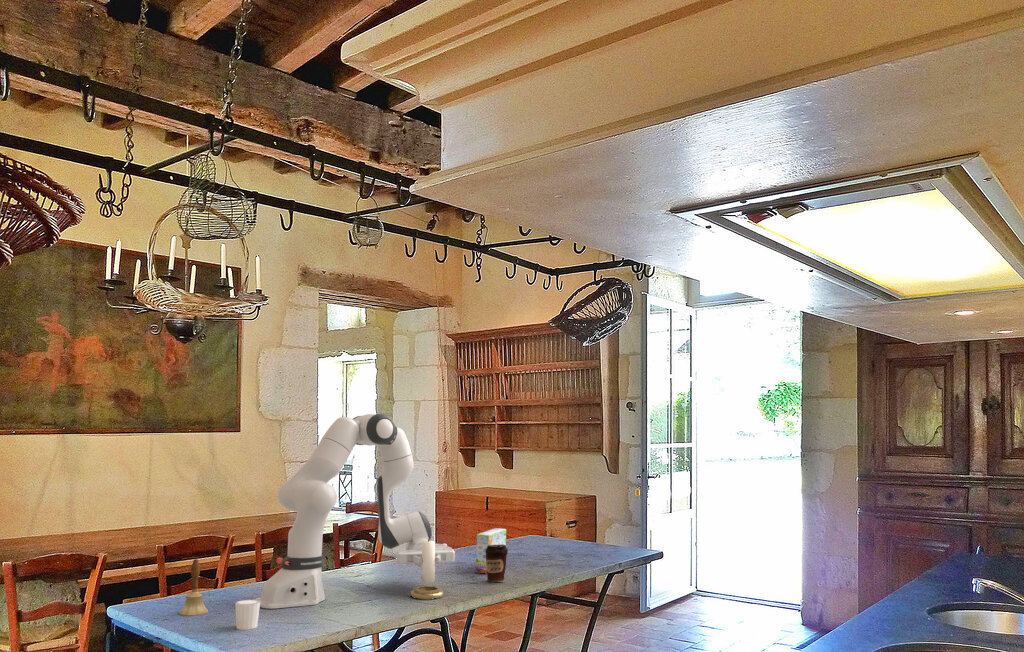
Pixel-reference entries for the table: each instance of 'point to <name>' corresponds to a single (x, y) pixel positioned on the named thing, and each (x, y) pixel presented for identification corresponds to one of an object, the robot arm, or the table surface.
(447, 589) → the table surface
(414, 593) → the candle dish
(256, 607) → the white tapered cup
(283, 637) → the table surface
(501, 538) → the snack box
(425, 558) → the candle
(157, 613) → the table surface
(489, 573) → the coffee cup
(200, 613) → the hand bell
